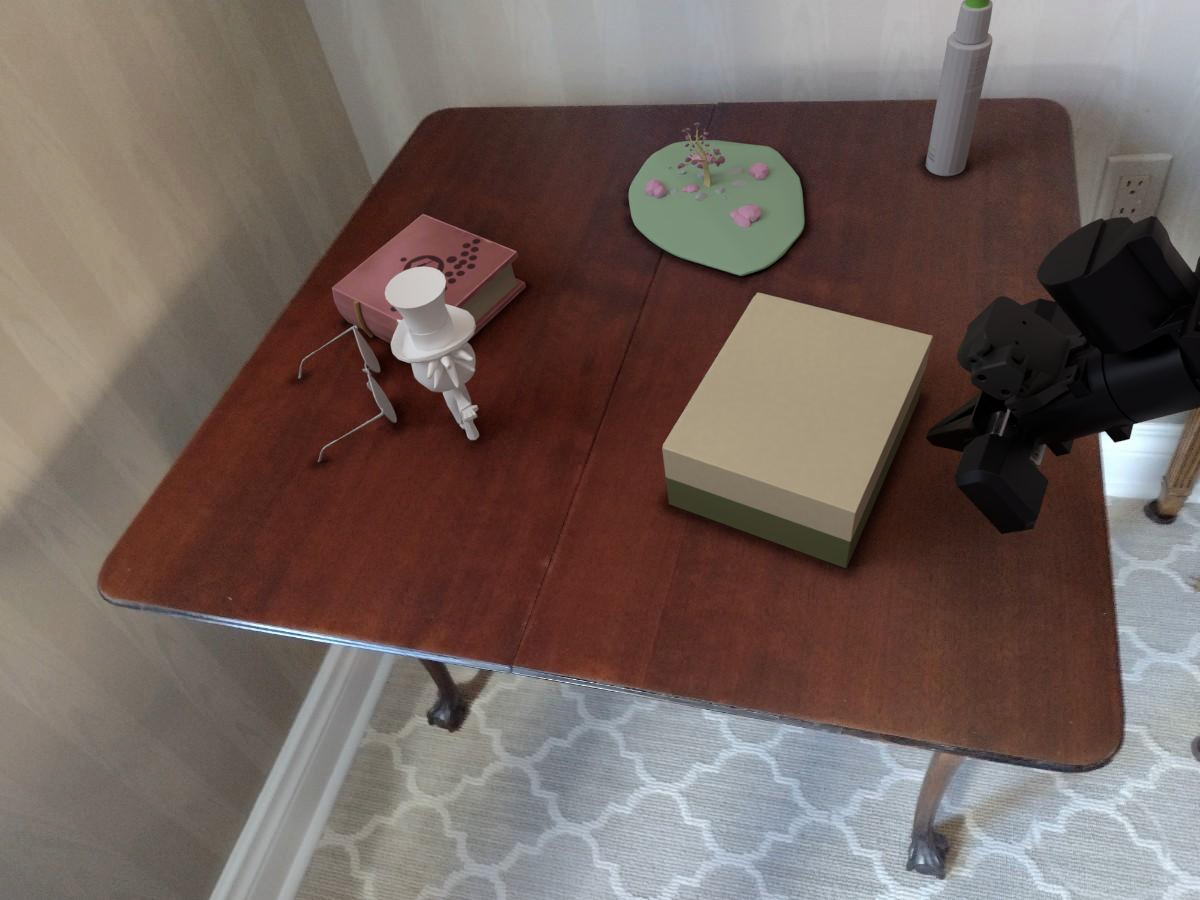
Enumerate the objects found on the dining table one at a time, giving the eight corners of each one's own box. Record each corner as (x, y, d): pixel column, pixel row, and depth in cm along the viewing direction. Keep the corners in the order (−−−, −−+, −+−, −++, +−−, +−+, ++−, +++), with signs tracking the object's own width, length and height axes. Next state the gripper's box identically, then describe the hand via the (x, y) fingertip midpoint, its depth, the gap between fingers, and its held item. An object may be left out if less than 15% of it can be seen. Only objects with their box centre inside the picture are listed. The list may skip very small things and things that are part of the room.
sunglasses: (402, 435, 87) (378, 405, 83) (326, 474, 87) (299, 446, 83) (373, 347, 96) (350, 316, 92) (304, 383, 96) (278, 353, 92)
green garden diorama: (863, 226, 98) (872, 154, 91) (703, 299, 94) (699, 230, 87) (739, 127, 113) (738, 59, 106) (596, 187, 109) (586, 120, 102)
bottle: (938, 150, 105) (971, -25, 89) (972, 162, 102) (1012, -16, 87) (917, 168, 103) (947, -7, 88) (952, 181, 101) (989, 3, 85)
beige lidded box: (919, 398, 82) (933, 335, 76) (846, 568, 72) (855, 512, 66) (755, 352, 88) (755, 291, 82) (667, 503, 78) (660, 447, 72)
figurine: (524, 446, 84) (480, 304, 70) (450, 480, 83) (390, 342, 69) (484, 378, 91) (437, 236, 77) (415, 409, 89) (354, 270, 75)
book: (342, 326, 99) (325, 292, 95) (434, 248, 105) (423, 213, 102) (433, 373, 92) (419, 338, 88) (525, 287, 99) (516, 251, 95)
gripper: (1086, 206, 60) (903, 293, 73) (1021, 396, 51) (823, 457, 64) (1175, 320, 63) (983, 384, 76) (1128, 519, 54) (918, 553, 67)
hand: (929, 438), depth 70 cm, fingers closed
